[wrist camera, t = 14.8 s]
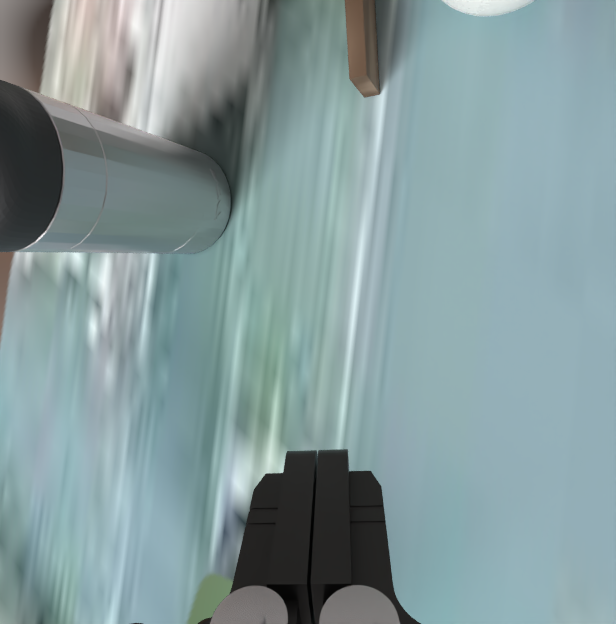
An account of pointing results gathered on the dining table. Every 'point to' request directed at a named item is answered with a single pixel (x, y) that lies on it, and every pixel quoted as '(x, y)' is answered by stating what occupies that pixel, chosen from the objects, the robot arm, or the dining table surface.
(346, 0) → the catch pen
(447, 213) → the dining table surface
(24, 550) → the dining table surface
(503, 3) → the lidded jar
